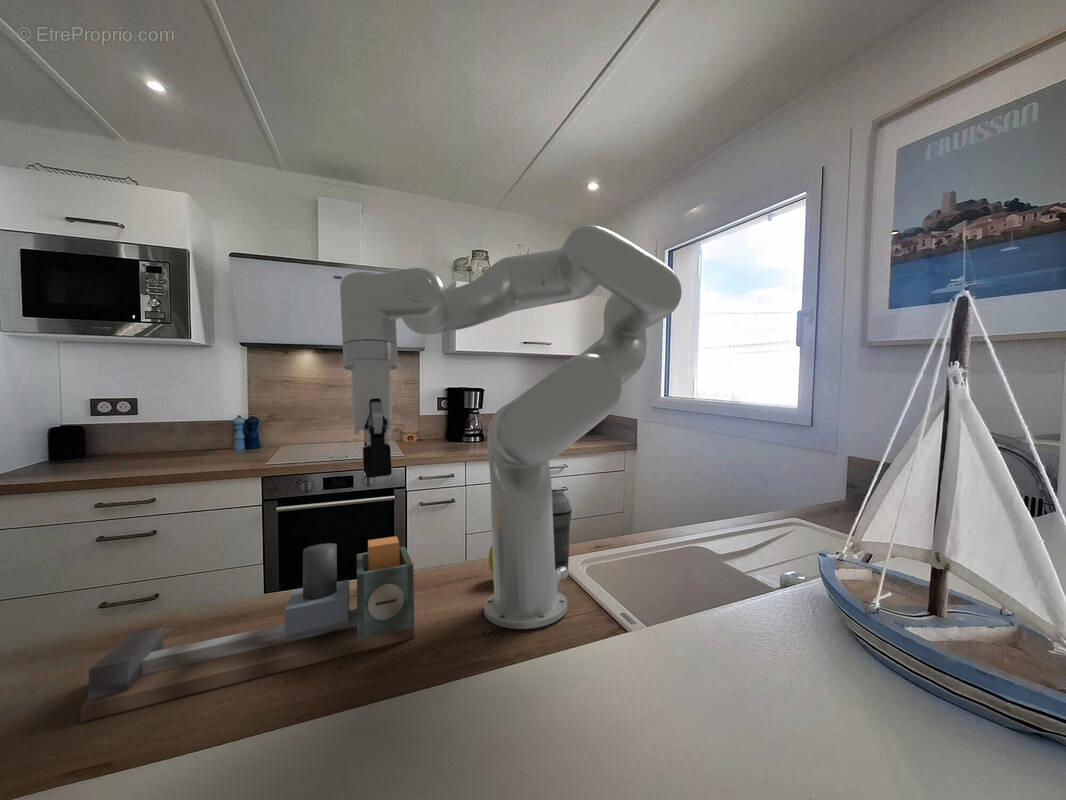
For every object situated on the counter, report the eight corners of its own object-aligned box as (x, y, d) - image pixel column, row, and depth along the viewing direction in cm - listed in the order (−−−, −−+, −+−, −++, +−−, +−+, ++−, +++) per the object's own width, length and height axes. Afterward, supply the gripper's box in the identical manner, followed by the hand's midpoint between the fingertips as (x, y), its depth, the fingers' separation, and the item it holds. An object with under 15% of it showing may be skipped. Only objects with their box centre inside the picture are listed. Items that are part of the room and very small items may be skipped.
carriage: (349, 608, 56) (349, 537, 57) (348, 629, 50) (348, 550, 50) (293, 619, 53) (294, 545, 54) (284, 643, 47) (285, 559, 48)
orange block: (396, 563, 58) (396, 536, 58) (399, 571, 54) (399, 542, 55) (368, 568, 56) (368, 540, 56) (368, 577, 53) (368, 547, 53)
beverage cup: (578, 579, 69) (572, 467, 71) (538, 582, 69) (533, 469, 71) (571, 565, 77) (566, 464, 78) (535, 568, 76) (530, 466, 78)
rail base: (405, 608, 60) (405, 546, 61) (414, 639, 51) (413, 565, 52) (133, 668, 47) (137, 588, 48) (77, 725, 38) (83, 624, 39)
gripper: (344, 368, 63) (348, 473, 62) (341, 344, 48) (347, 482, 46) (392, 368, 67) (397, 467, 65) (404, 345, 51) (411, 475, 50)
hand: (376, 473), depth 56 cm, fingers open, 9 cm apart
